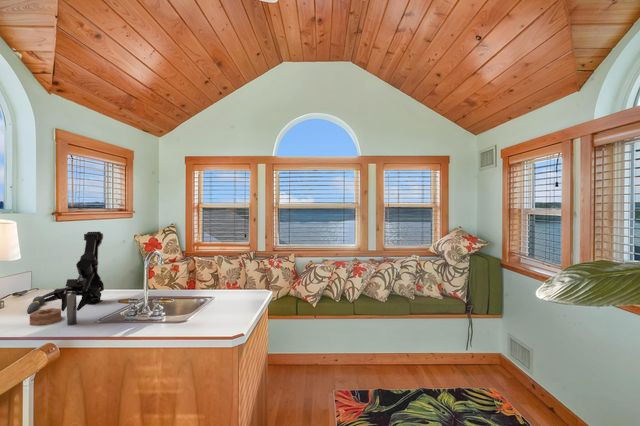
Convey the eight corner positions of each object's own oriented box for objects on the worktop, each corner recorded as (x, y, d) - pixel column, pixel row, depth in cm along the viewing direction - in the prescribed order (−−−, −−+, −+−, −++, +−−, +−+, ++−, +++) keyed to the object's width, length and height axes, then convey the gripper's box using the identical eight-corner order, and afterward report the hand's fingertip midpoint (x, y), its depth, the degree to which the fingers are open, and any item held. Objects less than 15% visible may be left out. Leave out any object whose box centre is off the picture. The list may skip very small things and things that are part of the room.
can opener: (70, 293, 199) (70, 284, 199) (78, 295, 197) (78, 285, 197) (36, 302, 183) (36, 292, 183) (45, 303, 180) (44, 293, 180)
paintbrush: (38, 313, 165) (38, 303, 165) (25, 314, 163) (25, 304, 163) (46, 302, 182) (46, 293, 182) (34, 303, 180) (34, 294, 180)
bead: (47, 315, 161) (47, 307, 161) (66, 317, 160) (66, 309, 160) (23, 324, 151) (23, 315, 150) (44, 325, 149) (44, 317, 149)
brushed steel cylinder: (72, 322, 154) (71, 292, 153) (78, 322, 153) (78, 292, 153) (65, 324, 150) (64, 294, 150) (71, 325, 150) (71, 294, 149)
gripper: (55, 271, 154) (37, 302, 143) (97, 271, 156) (84, 301, 145) (66, 284, 162) (51, 314, 151) (106, 283, 164) (94, 313, 153)
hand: (69, 310), depth 150 cm, fingers open, 6 cm apart
